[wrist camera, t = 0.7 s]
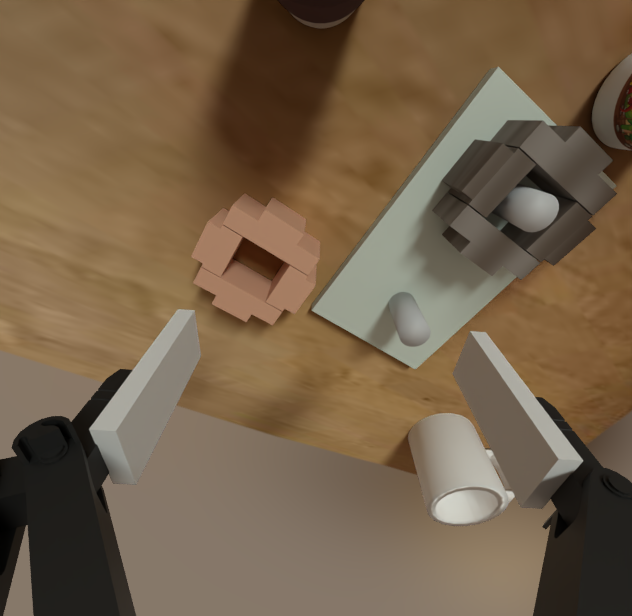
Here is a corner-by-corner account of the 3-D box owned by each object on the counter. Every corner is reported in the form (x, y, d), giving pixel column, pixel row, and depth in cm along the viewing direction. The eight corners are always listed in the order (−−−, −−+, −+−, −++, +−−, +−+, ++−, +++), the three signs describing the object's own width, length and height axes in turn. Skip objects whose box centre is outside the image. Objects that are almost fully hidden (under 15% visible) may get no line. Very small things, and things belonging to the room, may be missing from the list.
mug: (506, 418, 48) (549, 489, 39) (480, 459, 53) (513, 530, 44) (418, 410, 47) (441, 480, 38) (400, 452, 52) (417, 523, 43)
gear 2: (413, 214, 31) (428, 229, 26) (509, 96, 26) (547, 91, 21) (494, 273, 34) (518, 296, 30) (593, 178, 29) (640, 189, 25)
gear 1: (194, 265, 36) (176, 286, 31) (239, 175, 31) (225, 184, 26) (281, 313, 39) (276, 338, 34) (335, 238, 34) (337, 255, 29)
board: (311, 304, 38) (309, 341, 32) (489, 69, 26) (544, 53, 20) (412, 361, 42) (428, 405, 36) (604, 182, 30) (679, 200, 24)
